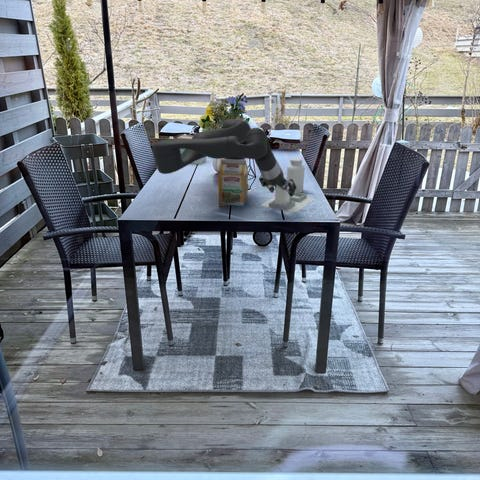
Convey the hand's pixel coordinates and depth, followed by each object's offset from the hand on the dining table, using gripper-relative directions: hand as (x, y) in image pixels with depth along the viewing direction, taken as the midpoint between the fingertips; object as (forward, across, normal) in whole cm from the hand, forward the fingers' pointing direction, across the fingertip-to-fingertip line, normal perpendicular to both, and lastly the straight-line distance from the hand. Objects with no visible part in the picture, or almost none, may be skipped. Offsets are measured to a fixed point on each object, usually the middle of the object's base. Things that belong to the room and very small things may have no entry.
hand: (282, 192), depth 169 cm
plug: (+5, -1, -3) cm, 6 cm away
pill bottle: (+24, -7, +14) cm, 29 cm away
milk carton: (+2, -21, -8) cm, 22 cm away
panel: (+10, -1, 0) cm, 10 cm away
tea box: (+38, -83, +28) cm, 95 cm away
